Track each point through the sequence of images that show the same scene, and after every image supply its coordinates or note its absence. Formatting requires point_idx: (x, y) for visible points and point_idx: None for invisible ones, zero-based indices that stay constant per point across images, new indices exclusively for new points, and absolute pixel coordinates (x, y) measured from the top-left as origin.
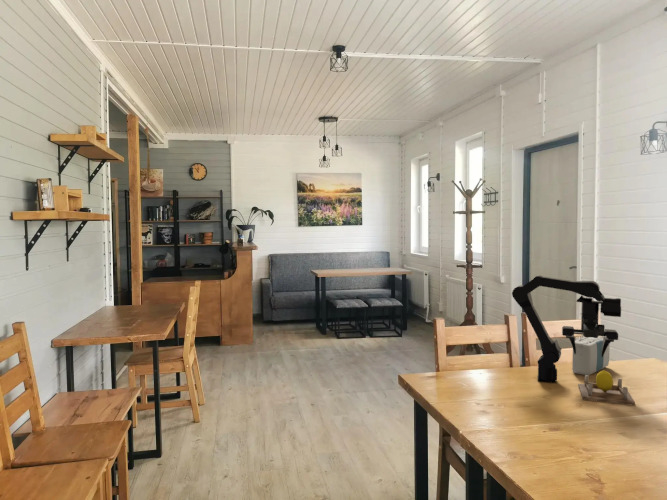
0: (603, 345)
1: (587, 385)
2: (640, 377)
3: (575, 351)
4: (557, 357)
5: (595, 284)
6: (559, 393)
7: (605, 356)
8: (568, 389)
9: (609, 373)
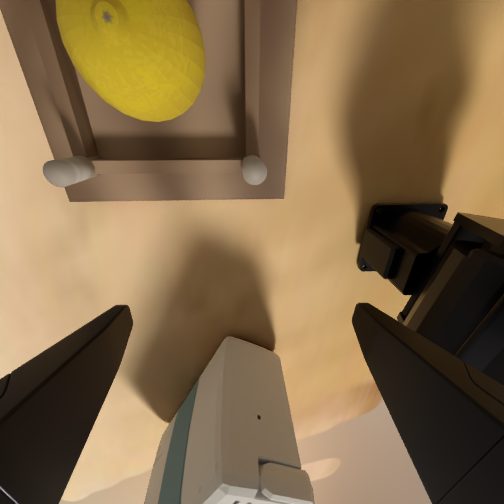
0: (12, 431)
1: (255, 98)
2: None
3: (376, 317)
4: (489, 250)
5: None
6: (409, 9)
7: (162, 459)
8: (337, 122)
9: (63, 14)
